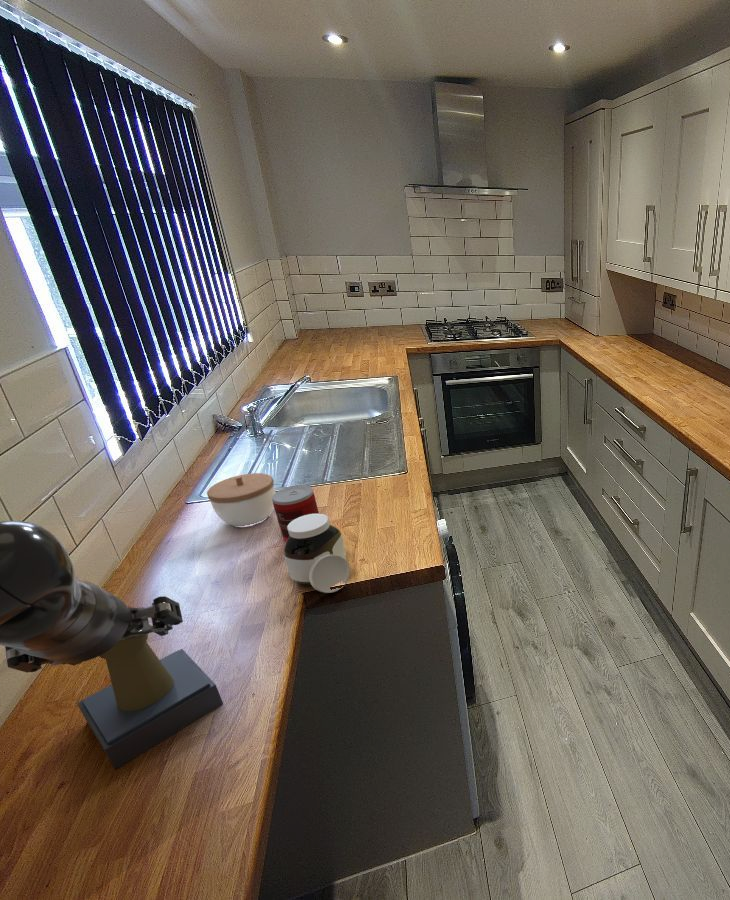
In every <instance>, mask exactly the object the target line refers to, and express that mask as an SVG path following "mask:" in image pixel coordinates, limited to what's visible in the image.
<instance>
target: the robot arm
mask: <svg viewBox="0 0 730 900" xmlns="http://www.w3.org/2000/svg"><path fill="white" fill-rule="evenodd" d="M149 619H151V624H150V623H149ZM182 623H184V620H183V614H182V611H181V605H180V603H179V602H177V601H175V600H174V599H171V598H169V597H167V596H165V595H164V596H158V597H155V598H154V599H153V600H152V603H151V606H147V607H133V606H132V607H128V605H127V604H126V603H125V602H124V601H123V600H122V599H120V597H118V596H116V595H114V594H112V593H111V592H109V591H107V590H105V588H102V587H100V586H99V585H97V584H95V583H93V582H91V581H88V580H86V579H81V578H79V577H77V576H76V573H75V567H74V564H73V561H72V559H71V556H70V555H69V552H68V550H67V549H66V547H65V546H64V544H63V543H62V542H61V541H60V539H59V538H57V537H56V535H54V533H52V532H51V531H50V530H48V529H47V528H45V527H43V526H41V525H40V524H39V525H38V524H37V523H33V522H30V521H24V520H4V521H0V646H2V647H4V649H5V657H6V666H7V668H9V669H13V670H16V671H20V672H23V673H35V672H37V671H40V670H42V665H46V664H49V665H50V667H54V666H55V667H57V666H61V665H70V666H76V665H79V664H82V663H84V662H87V661H91V660H94V659H95V658H98V657H99V656H100V655H102V654H104V653H105V652H107V651H108V650H110V649H111V648H112V647H113V646H114V645H116V644H117V643H118V642H120V641H123V640H130V639H137V638H141V637H143V636H145V635H147V634H148V635H149V634H150V633H151V634H153V633H154V634H156V635H158V636H160V637H163V636H167V635H169V631H171V630H173V629H174V628H173V626H178V625H180V624H182ZM133 629H135V632H131V631H132V630H133Z"/></svg>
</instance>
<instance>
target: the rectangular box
mask: <svg viewBox="0 0 730 900" xmlns="http://www.w3.org/2000/svg"><path fill="white" fill-rule="evenodd" d="M159 660H160V661H161V663H162V664H163V666H164V667H165V668H166V670H167V671H168V673H169V674H170V675H171V677H172V678H173V680H174V685H173V687H172V688H171V690H170V691H169V692H168V693H167V694H166V695H165V696H164V697H163V698H161V699H160V700H159V701H157V702H155V703H153V704H152V705H150V706H147V707H145V708H142V709H139V710H135V711H122V710H120V709H119V708H118V706H117V703H116V699H115V695H114V691H113V687H112V684H110V685H108V686H106V687H104V688H102V689H100V690H99V691H96V692H95V693H93V694H91V695H88V696H87V697H85V698H83V699H81V700H80V701H78V702H77V703H76V704H77V707H78V708H79V710H80V712H81V714H82V715H83V718H84V719H85V721H86V723H87V724H88V726H89V728H90V730H91V731H92V733H93V735H94V736H95V738H96V740H97V742H98V743H99V745H100V747H101V748H102V750H103V752H104V753H105V755H106V756H107V758H108V760H109V762H110V763H111V765H112V767H113V768H114V770H115V771H116V770H118V769H119V768H121V767H123V766H124V765H126V764H127V763H129V762H131V761H133V760H134V759H136V758H137V757H139V756H141V755H143V753H145V752H147V751H149V750H151V749H152V748H153V747H155V746H157V745H158V744H160V743H162V742H164V741H165V740H166V739H168V738H170V737H171V736H173V735H175V734H177V733H178V732H180V731H181V730H183V729H184V728H186V727H188V726H189V725H191V724H193V723H194V722H196V721H197V720H199V719H201V718H202V717H204V716H206V715H207V714H209V713H211V712H212V711H214V710H215V709H217V708H218V707H220V706H222V705H223V704H224V702H223V700H222V697H221V694H220V692H219V689H218V687H217V684H216V683H215V682H214V681H213V680H212V679H211V678H210V676H208V674H207V673H206V672H204V671H203V669H202V668H201V667H200V666H199V665H198V664H197V663H196V662H195V660H193V659H192V657H191V656H189V654H188V653H187V652H186V651H185V650H184V649H183V648H180V649H178V650H176V651H174V652H172V653H170V654H168V655H166V656H164V657H163V658H159Z"/></svg>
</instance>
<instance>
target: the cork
mask: <svg viewBox="0 0 730 900" xmlns="http://www.w3.org/2000/svg"><path fill="white" fill-rule="evenodd" d="M131 632H135V629H133V630H132V631H131ZM148 639H149V634H147V635H145V636H143V637H141V638H137V639H130V640H123V641H120V642H118V643H117V644H116V645H114V646H113V647H112V648H111V649H110V650H108V651H107V652H105V653H104V654H102V655H100V656H98V657H99V658H101V659H104V660H105V662H106V666H107V671H108V674H109V679H110V682H111V685H112V687H113V691H114V695H115V699H116V703H117V706H118V708H119V709H120V710H122V711H135V710H139V709H142V708H145V707H147V706H150V705H152V704H153V703H155V702H157V701H159V700H160V699H161V698H163V697H164V696H165V695H166V694H167V693H168V692H169V691H170V690H171V688H172V687H173V685H174V680H173V678H172V677H171V675H170V674H169V673H168V671H167V670H166V668H165V667H164V666H163V664H162V663H161V661H160V658H159V657H158V655H157V654H156V653H155V652H154V650H153V649H152V648H151V646H150V644H149V643H148V642H147V641H148Z"/></svg>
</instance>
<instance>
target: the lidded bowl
mask: <svg viewBox="0 0 730 900" xmlns="http://www.w3.org/2000/svg"><path fill="white" fill-rule="evenodd" d="M276 492H277V490H276V487H275V481H274V477H273V476H272V475H270V474H267V473H261V472H255V473H254V472H253V473H244V474H239V475H235V476H231V477H229V478H226V479H222V480H221V481H218V482H216V483H215V484H213V485H211V486H210V487H209V488H208V489H207V491H206V495H207V498H208V500H209V501H210V505H211V508H212V509H213V511H214V513H215V514H216V516H217V517H218V518H219V519H220V520H221V521H223V522H224V523H226V524H228V525H231V526H233V525H234V526H245V525H250V524H254V523H257V522H259V521H262V520H264V519H265V518H267V517H268V516H269V517H270V515H271V514H272V513H273V511H275V509H274V505H273V502H272V496H273V495H274V494H275V493H276ZM234 526H233V527H234Z"/></svg>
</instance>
